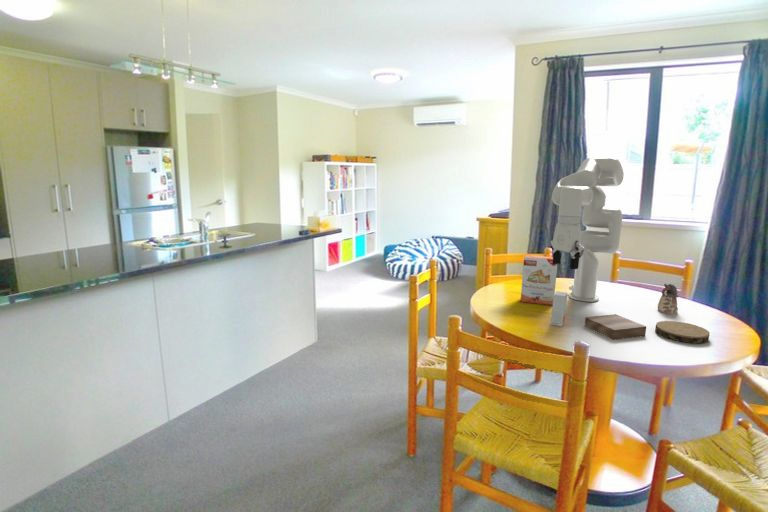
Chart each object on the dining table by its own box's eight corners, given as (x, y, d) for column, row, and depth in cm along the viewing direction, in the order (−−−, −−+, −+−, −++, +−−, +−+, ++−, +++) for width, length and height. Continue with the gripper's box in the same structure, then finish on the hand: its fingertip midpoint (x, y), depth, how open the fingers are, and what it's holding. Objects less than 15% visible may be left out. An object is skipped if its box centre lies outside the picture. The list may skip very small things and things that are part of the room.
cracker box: (520, 302, 192) (523, 256, 188) (521, 298, 197) (524, 254, 193) (553, 306, 187) (557, 259, 183) (553, 302, 192) (557, 256, 188)
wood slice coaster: (689, 348, 143) (691, 339, 143) (645, 331, 158) (646, 324, 157) (718, 340, 150) (720, 332, 149) (673, 326, 164) (674, 318, 163)
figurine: (680, 314, 177) (684, 286, 174) (661, 313, 178) (665, 285, 176) (672, 309, 183) (676, 282, 181) (654, 308, 185) (658, 281, 183)
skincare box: (562, 326, 161) (565, 296, 159) (550, 324, 164) (553, 294, 161) (565, 322, 166) (568, 292, 164) (553, 320, 169) (556, 290, 166)
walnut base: (584, 327, 163) (585, 317, 162) (614, 324, 166) (615, 314, 166) (613, 340, 149) (614, 330, 149) (645, 337, 153) (646, 326, 152)
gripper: (545, 218, 165) (541, 262, 168) (577, 223, 148) (572, 271, 151) (562, 218, 167) (558, 261, 170) (594, 223, 150) (589, 270, 154)
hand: (564, 266), depth 161 cm, fingers open, 9 cm apart
